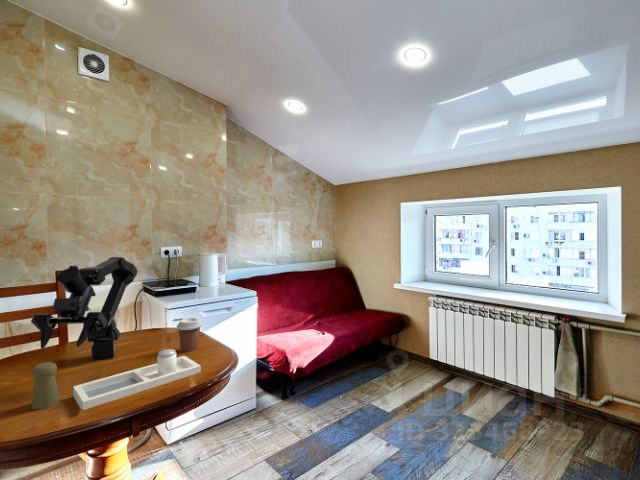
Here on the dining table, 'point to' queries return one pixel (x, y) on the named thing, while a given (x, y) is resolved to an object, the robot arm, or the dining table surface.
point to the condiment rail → (129, 383)
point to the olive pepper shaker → (45, 386)
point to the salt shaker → (166, 362)
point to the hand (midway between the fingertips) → (59, 347)
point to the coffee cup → (189, 334)
